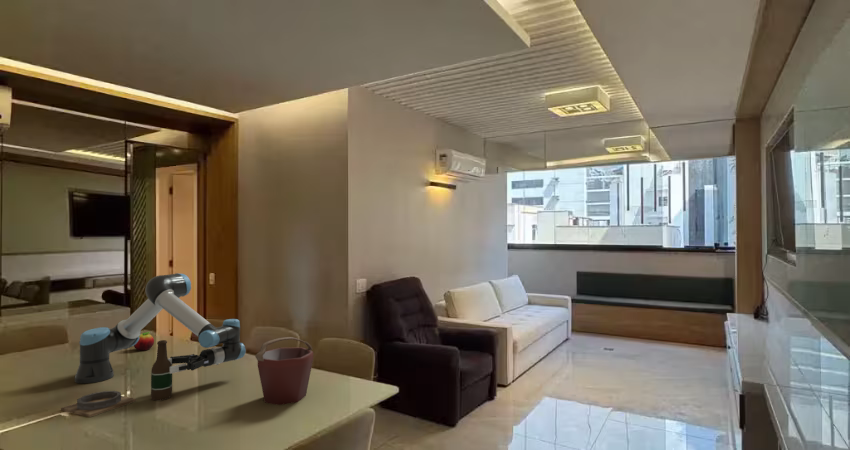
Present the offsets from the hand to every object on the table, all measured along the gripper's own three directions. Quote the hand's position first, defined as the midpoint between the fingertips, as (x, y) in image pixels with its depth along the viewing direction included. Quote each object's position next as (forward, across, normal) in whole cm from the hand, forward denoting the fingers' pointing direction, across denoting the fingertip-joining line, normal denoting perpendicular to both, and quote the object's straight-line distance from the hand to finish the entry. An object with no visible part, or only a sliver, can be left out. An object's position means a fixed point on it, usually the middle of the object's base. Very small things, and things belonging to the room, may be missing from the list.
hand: (162, 367), depth 194 cm
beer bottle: (0, 0, -13) cm, 13 cm away
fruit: (-30, +97, -13) cm, 103 cm away
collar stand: (+19, +11, -13) cm, 26 cm away
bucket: (-31, -41, -13) cm, 53 cm away
